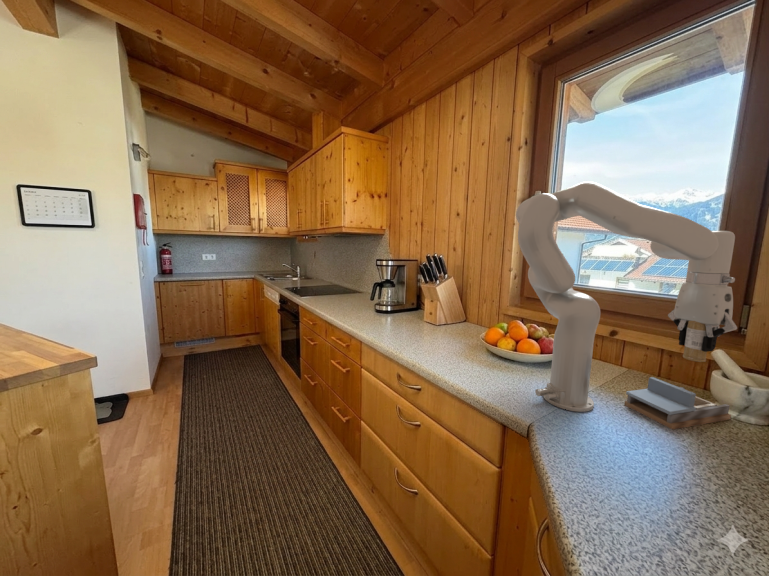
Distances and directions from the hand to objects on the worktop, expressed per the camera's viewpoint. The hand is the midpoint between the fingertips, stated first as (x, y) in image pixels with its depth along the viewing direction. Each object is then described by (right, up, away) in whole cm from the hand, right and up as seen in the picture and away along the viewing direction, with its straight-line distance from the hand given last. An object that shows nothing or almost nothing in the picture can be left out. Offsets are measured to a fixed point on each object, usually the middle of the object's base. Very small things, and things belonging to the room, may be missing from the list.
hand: (695, 347), depth 82 cm
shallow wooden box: (-4, -18, +2) cm, 18 cm away
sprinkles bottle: (0, -4, +1) cm, 4 cm away
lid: (-10, -14, 0) cm, 18 cm away
